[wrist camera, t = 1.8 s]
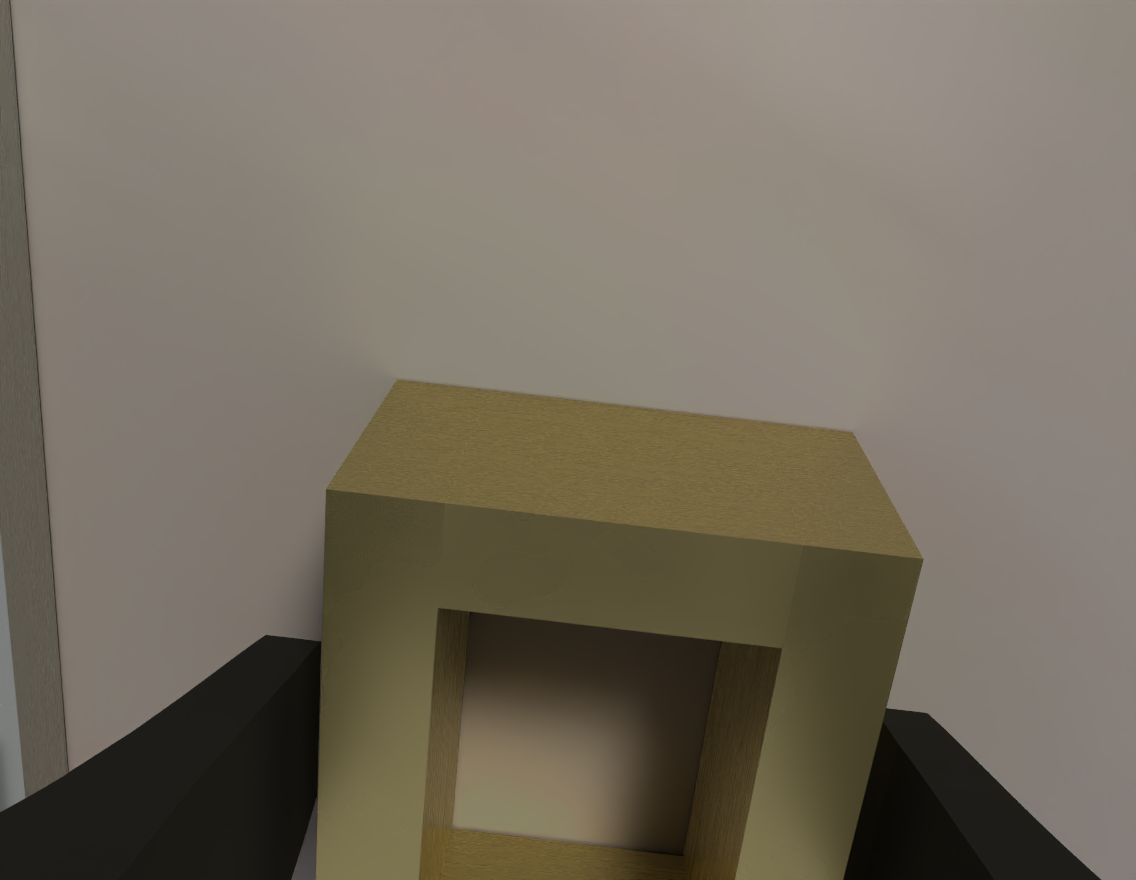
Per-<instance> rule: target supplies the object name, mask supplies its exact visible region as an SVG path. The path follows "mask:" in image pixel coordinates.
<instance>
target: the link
mask: <svg viewBox="0 0 1136 880" xmlns="http://www.w3.org/2000/svg"><path fill="white" fill-rule="evenodd" d="M922 563H923V557H922V556H921V554H920V552H919V550H918V548H917V547H916V545H915V543H914V541H913V539H912V538H911V536H910V534H909V532H908V530H907V529H906V527H905V525H904V523H903V522H902V520H901V518H900V516H899V514H898V513H897V511H896V509H895V507H894V505H893V504H892V502H891V500H890V498H889V496H888V495H887V493H886V491H885V489H884V487H883V486H882V484H881V482H880V480H879V479H878V477H877V475H876V473H875V471H874V470H873V468H872V466H871V464H870V462H869V461H868V459H867V457H866V455H865V453H864V452H863V450H862V448H861V446H860V444H859V443H858V441H857V439H856V437H855V436H854V434H853V432H844V431H836V430H827V429H818V428H810V427H801V426H792V425H784V424H775V423H767V422H758V421H749V420H741V419H732V418H723V417H715V416H706V415H698V414H689V413H680V412H672V411H663V410H654V409H646V408H637V407H628V406H620V405H611V404H603V403H594V402H585V401H577V400H568V399H559V398H551V397H542V396H534V395H525V394H516V393H508V392H499V391H490V390H482V389H473V388H464V387H456V386H447V385H439V384H430V383H421V382H413V381H404V380H397V381H396V382H395V384H394V385H393V387H392V388H391V390H390V392H389V393H388V395H387V396H386V398H385V399H384V401H383V402H382V404H381V405H380V407H379V408H378V410H377V412H376V413H375V415H374V416H373V418H372V419H371V421H370V422H369V424H368V425H367V427H366V429H365V430H364V432H363V433H362V435H361V436H360V438H359V439H358V441H357V442H356V444H355V445H354V447H353V449H352V450H351V452H350V453H349V455H348V456H347V458H346V459H345V461H344V462H343V464H342V466H341V467H340V469H339V470H338V472H337V473H336V475H335V476H334V478H333V479H332V481H331V482H330V484H329V486H328V487H327V489H326V512H325V550H324V589H323V627H322V665H321V703H320V741H319V780H318V818H317V856H316V880H843V878H844V874H845V870H846V866H847V862H848V858H849V854H850V850H851V846H852V842H853V838H854V834H855V830H856V826H857V822H858V818H859V814H860V810H861V806H862V802H863V798H864V794H865V790H866V786H867V782H868V778H869V774H870V770H871V766H872V762H873V758H874V754H875V750H876V746H877V742H878V738H879V734H880V730H881V726H882V722H883V718H884V714H885V710H886V706H887V702H888V698H889V694H890V690H891V686H892V682H893V678H894V674H895V670H896V667H897V663H898V659H899V655H900V651H901V647H902V643H903V639H904V635H905V631H906V627H907V623H908V619H909V615H910V611H911V607H912V603H913V599H914V595H915V591H916V587H917V583H918V579H919V575H920V571H921V567H922ZM470 612H478V613H487V614H495V615H504V616H512V617H521V618H529V619H538V620H546V621H555V622H563V623H572V624H580V625H588V626H597V627H605V628H614V629H622V630H631V631H639V632H648V633H656V634H665V635H673V636H682V637H690V638H699V639H707V640H716V641H722V643H721V648H720V654H719V659H718V665H717V670H716V676H715V681H714V687H713V692H712V698H711V703H710V709H709V715H708V720H707V726H706V731H705V737H704V742H703V748H702V753H701V759H700V764H699V770H698V775H697V781H696V786H695V792H694V798H693V803H692V809H691V814H690V820H689V825H688V831H687V836H686V842H685V847H684V853H683V856H676V855H668V854H659V853H651V852H643V851H634V850H626V849H618V848H609V847H601V846H593V845H584V844H576V843H568V842H559V841H551V840H542V839H534V838H526V837H517V836H509V835H501V834H492V833H484V832H476V831H467V830H459V829H452V821H453V809H454V797H455V785H456V773H457V761H458V749H459V736H460V724H461V712H462V700H463V688H464V676H465V664H466V651H467V639H468V627H469V615H470Z"/></svg>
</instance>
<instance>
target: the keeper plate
mask: <svg viewBox="0 0 1136 880" xmlns="http://www.w3.org/2000/svg"><path fill="white" fill-rule="evenodd" d="M67 773H68V766H67V753H66V740H65V727H64V714H63V700H62V687H61V674H60V661H59V648H58V635H57V622H56V608H55V595H54V582H53V569H52V556H51V543H50V529H49V516H48V503H47V490H46V477H45V464H44V451H43V437H42V424H41V411H40V398H39V385H38V372H37V358H36V345H35V332H34V319H33V306H32V293H31V279H30V266H29V253H28V240H27V227H26V214H25V201H24V187H23V174H22V161H21V148H20V135H19V122H18V108H17V95H16V82H15V69H14V56H13V43H12V30H11V16H10V3H9V0H0V812H1V811H3V810H5V809H7V808H9V807H11V806H12V805H14V804H16V803H18V802H20V801H21V800H23V799H25V798H27V797H28V796H30V795H32V794H34V793H36V792H37V791H39V790H41V789H42V788H44V787H46V786H48V785H49V784H51V783H53V782H54V781H56V780H58V779H59V778H61V777H63V776H64V775H66V774H67Z"/></svg>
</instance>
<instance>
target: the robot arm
mask: <svg viewBox="0 0 1136 880" xmlns="http://www.w3.org/2000/svg"><path fill="white" fill-rule="evenodd" d="M320 663H321V641H312V640H304V639H295V638H287V637H278V636H270V635H265V636H264V637H262V638H261V639H259V640H258V641H256V642H255V643H254V644H252V645H251V646H250V647H248V648H247V649H245V650H244V651H243V652H241V653H240V654H239V655H237V656H236V657H235V658H233V659H232V660H230V661H229V662H228V663H226V664H225V665H224V666H222V667H221V668H220V669H218V670H217V671H216V672H214V673H213V674H212V675H210V676H209V677H208V678H206V679H205V680H204V681H202V682H201V683H200V684H198V685H197V686H195V687H194V688H193V689H191V690H190V691H189V692H187V693H186V694H185V695H183V696H182V697H181V698H179V699H178V700H176V701H175V702H174V703H172V704H171V705H169V706H168V707H167V708H165V709H164V710H162V711H161V712H160V713H158V714H157V715H155V716H154V717H152V718H151V719H150V720H148V721H147V722H145V723H144V724H143V725H141V726H140V727H138V728H137V729H136V730H134V731H133V732H131V733H130V734H128V735H126V736H125V737H123V738H122V739H120V740H119V741H117V742H116V743H114V744H112V745H111V746H109V747H108V748H106V749H105V750H103V751H102V752H100V753H98V754H97V755H95V756H94V757H92V758H91V759H89V760H87V761H86V762H84V763H83V764H81V765H80V766H78V767H77V768H75V769H73V770H72V771H70V772H69V773H67V774H66V775H64V776H63V777H61V778H59V779H58V780H56V781H54V782H53V783H51V784H49V785H48V786H46V787H44V788H42V789H41V790H39V791H37V792H36V793H34V794H32V795H30V796H28V797H27V798H25V799H23V800H21V801H20V802H18V803H16V804H14V805H12V806H11V807H9V808H7V809H5V810H3V811H1V812H0V880H291V878H292V875H293V872H294V869H295V866H296V863H297V859H298V856H299V853H300V850H301V847H302V844H303V841H304V837H305V834H306V831H307V827H308V824H309V821H310V817H311V814H312V811H313V807H314V804H315V801H316V797H317V780H318V741H319V702H320ZM843 880H1101V879H1100V878H1099V877H1098V876H1096V875H1095V874H1094V873H1093V872H1092V871H1091V870H1090V869H1089V868H1088V867H1086V866H1085V865H1084V864H1083V863H1082V862H1081V861H1080V860H1079V859H1078V858H1077V857H1075V856H1074V855H1073V854H1072V853H1071V852H1070V851H1069V850H1068V849H1067V848H1066V847H1065V846H1064V845H1062V844H1061V843H1060V842H1059V841H1058V840H1057V839H1056V838H1055V837H1054V836H1053V835H1052V834H1051V833H1050V832H1049V831H1048V830H1047V829H1046V828H1045V827H1043V826H1042V825H1041V824H1040V823H1039V822H1038V821H1037V820H1036V819H1035V818H1034V817H1033V816H1032V815H1031V814H1030V813H1029V812H1028V811H1027V810H1026V809H1025V808H1024V807H1023V806H1022V805H1021V804H1020V803H1019V802H1018V801H1017V800H1016V799H1015V798H1014V797H1013V796H1012V795H1011V794H1010V793H1009V792H1008V791H1007V790H1006V789H1005V788H1004V787H1003V786H1002V785H1001V784H1000V783H999V782H998V781H997V780H996V779H995V778H994V777H993V776H992V775H991V774H990V773H989V772H988V771H987V770H985V769H984V768H983V767H982V766H981V765H980V764H979V763H978V762H977V761H976V760H975V759H974V758H973V757H972V756H971V755H970V754H969V753H968V752H967V751H966V750H965V749H964V748H963V747H962V746H961V745H960V744H959V743H958V742H957V741H956V740H955V739H954V738H953V737H952V736H951V735H950V734H949V733H948V732H947V731H946V730H945V729H944V728H943V727H942V726H941V725H940V724H939V723H938V722H936V721H935V720H934V719H933V718H932V717H931V716H930V715H929V714H927V713H921V712H913V711H905V710H896V709H888V708H886V710H885V714H884V718H883V722H882V726H881V730H880V734H879V738H878V742H877V746H876V750H875V754H874V758H873V762H872V766H871V770H870V774H869V778H868V782H867V786H866V790H865V794H864V798H863V802H862V806H861V810H860V814H859V818H858V822H857V826H856V830H855V834H854V838H853V842H852V846H851V850H850V854H849V858H848V862H847V866H846V870H845V874H844V878H843Z"/></svg>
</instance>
